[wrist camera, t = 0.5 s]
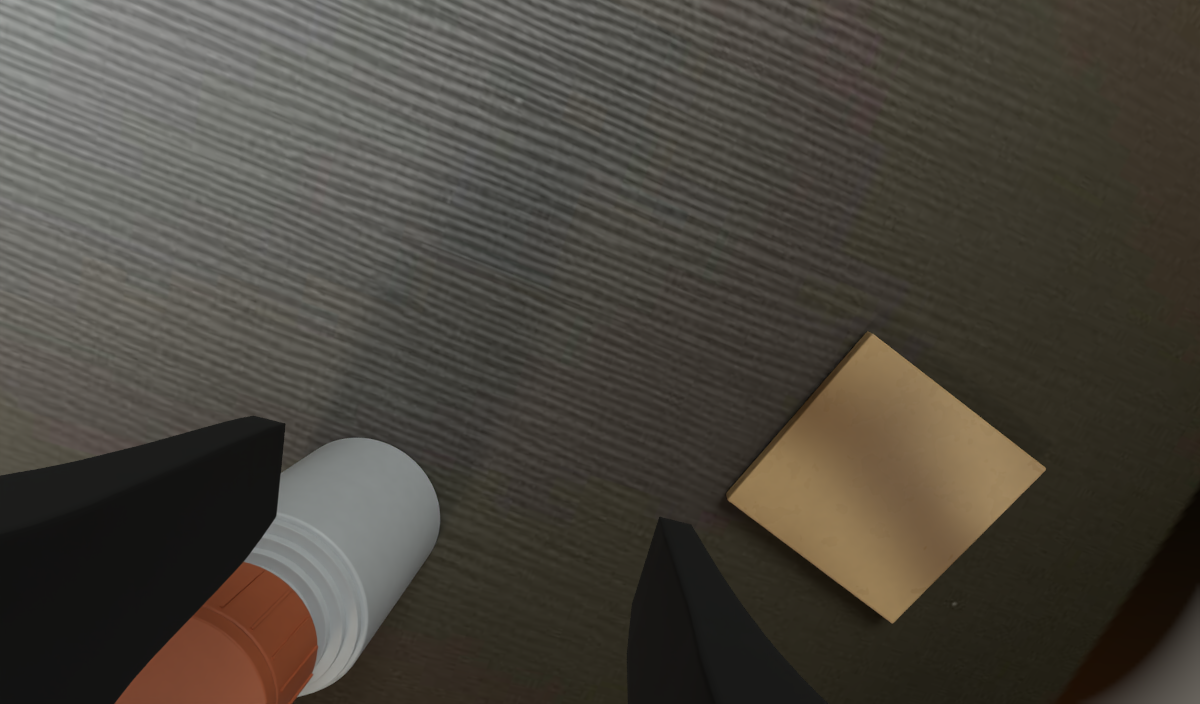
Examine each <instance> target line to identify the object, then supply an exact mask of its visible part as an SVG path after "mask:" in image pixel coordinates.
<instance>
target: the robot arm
mask: <svg viewBox="0 0 1200 704" xmlns="http://www.w3.org/2000/svg"><path fill="white" fill-rule="evenodd" d="M284 433H285V423H281V422H277V421H273V420H268V419H264V418H260V417H256V416H250V417H244V418H239V419H235V420H231V421H227V422H223V423H219V424H216V425H212V426H208V427H205V428H201V429H198V430H194V431H191V432H187V433H183V434H180V435H176V436H173V437H169V438H165V439H162V440H158V441H155V442H151V443H148V444H144V445H140V446H136V447H132V448H128V449H124V450H120V451H116V452H112V453H108V454H104V455H100V456H96V457H92V458H87V459H83V460H79V461H75V462H70V463H66V464H61V465H56V466H51V467H46V468H41V469H36V470H30V471H24V472H18V473H13V474H7V475H1V476H0V704H115V702H116V701H117V700H118V699H119V697H120V696H121V695H122V693H123V692H124V691H125V690H126V688H127V687H128V686H129V685H130V683H131V682H132V681H133V680H134V678H135V677H136V676H137V675H138V674H139V673H140V672H141V671H142V669H143V668H144V667H145V666H146V665H147V664H148V663H149V661H150V660H151V659H152V658H153V657H154V656H155V655H156V654H157V653H158V652H159V651H160V650H161V649H162V647H163V646H164V645H165V644H166V643H167V642H168V641H169V640H170V639H171V638H172V637H173V636H174V635H175V634H176V633H177V632H178V631H179V630H180V629H181V628H182V627H183V626H184V624H185V623H186V622H187V621H188V620H189V619H190V618H191V617H192V616H193V615H194V614H195V613H196V612H197V611H198V610H199V609H200V608H201V607H202V606H203V605H204V604H205V603H206V601H207V600H208V599H209V598H210V597H211V596H212V595H213V594H214V593H215V592H216V591H217V590H218V589H219V588H220V587H221V586H222V585H223V584H224V582H225V581H226V580H227V579H228V578H229V577H230V576H231V575H232V574H233V573H234V572H235V571H236V570H237V569H238V567H239V566H240V565H241V564H242V563H243V562H244V561H245V560H246V558H247V557H248V556H249V554H250V553H251V552H252V550H253V549H254V548H255V546H256V545H257V544H258V542H259V541H260V540H261V538H262V537H263V535H264V534H265V532H266V531H267V530H268V528H269V527H270V525H271V524H272V522H273V521H274V519H275V518H276V517H277V506H278V496H279V485H280V475H281V465H282V454H283V444H284ZM627 680H628V704H828V703H827V702H826V701H825V700H824V699H823V698H822V697H821V696H820V695H819V694H818V693H817V692H816V691H815V690H814V689H813V688H812V687H811V686H810V685H809V684H808V683H807V682H806V681H805V680H804V679H803V678H802V677H801V676H800V675H799V674H798V673H797V671H796V670H795V669H794V668H793V667H792V666H791V665H790V664H789V663H788V661H787V660H786V659H785V658H784V657H783V656H782V655H781V654H780V653H779V652H778V650H777V649H776V648H775V647H774V646H773V644H772V643H771V642H770V641H769V640H768V638H767V637H766V636H765V635H764V633H763V632H762V631H761V629H760V628H759V627H758V625H757V624H756V623H755V621H754V620H753V619H752V618H751V616H750V615H749V614H748V612H747V611H746V610H745V608H744V607H743V605H742V604H741V602H740V601H739V600H738V598H737V597H736V595H735V594H734V592H733V591H732V589H731V588H730V586H729V585H728V583H727V582H726V580H725V579H724V577H723V576H722V574H721V573H720V571H719V570H718V568H717V566H716V565H715V563H714V561H713V560H712V558H711V557H710V555H709V553H708V552H707V550H706V548H705V547H704V545H703V543H702V542H701V540H700V538H699V537H698V535H697V533H696V532H695V530H694V529H693V527H692V525H690V524H686V523H682V522H678V521H674V520H670V519H666V518H662V517H659V520H658V523H657V526H656V529H655V532H654V536H653V539H652V542H651V545H650V548H649V552H648V555H647V558H646V561H645V564H644V568H643V571H642V574H641V577H640V580H639V584H638V587H637V590H636V593H635V596H634V600H633V603H632V609H631V619H630V628H629V638H628V649H627Z"/></svg>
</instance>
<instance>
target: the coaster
mask: <svg viewBox="0 0 1200 704" xmlns="http://www.w3.org/2000/svg"><path fill="white" fill-rule="evenodd" d="M1045 470H1046V468H1045V467H1044V466H1043V465H1041V464H1040V463H1039V462H1038V461H1036V460H1035V459H1034V458H1032V457H1031V456H1030V455H1029V454H1027V453H1026V452H1025V451H1023V450H1022V449H1021V448H1020V447H1018V446H1017V445H1016V444H1014V443H1013V442H1012V441H1011V440H1009V439H1008V438H1007V437H1005V436H1004V435H1003V434H1002V433H1000V432H999V431H998V430H996V429H995V428H994V427H992V426H991V425H990V424H989V423H987V422H986V421H985V420H983V419H982V418H981V417H980V416H978V415H977V414H976V413H974V412H973V411H972V410H971V409H969V408H968V407H967V406H965V405H964V404H963V403H962V402H960V401H959V400H958V399H956V398H955V397H954V396H953V395H951V394H950V393H949V392H947V391H946V390H945V389H944V388H942V387H941V386H940V385H938V384H937V383H936V382H934V381H933V380H932V379H931V378H929V377H928V376H927V375H925V374H924V373H923V372H922V371H920V370H919V369H918V368H916V367H915V366H914V365H913V364H911V363H910V362H909V361H907V360H906V359H905V358H904V357H902V356H901V355H900V354H898V353H897V352H896V351H895V350H893V349H892V348H891V347H889V346H888V345H887V344H886V343H884V342H883V341H882V340H880V339H879V338H878V337H877V336H875V335H874V334H872V333H870V332H866V333H865V334H864V336H863V337H862V338H861V339H860V340H859V341H858V343H857V344H856V345H855V346H854V347H853V348H852V349H851V351H850V352H849V353H848V354H847V355H846V356H845V357H844V359H843V360H842V361H841V362H840V363H839V364H838V365H837V367H836V368H835V369H834V370H833V371H832V372H831V374H830V375H829V376H828V377H827V378H826V379H825V380H824V382H823V383H822V384H821V385H820V386H819V387H818V388H817V390H816V391H815V392H814V393H813V394H812V395H811V396H810V398H809V399H808V400H807V401H806V402H805V403H804V404H803V406H802V407H801V408H800V409H799V410H798V411H797V413H796V414H795V415H794V416H793V417H792V418H791V419H790V421H789V422H788V423H787V424H786V425H785V426H784V427H783V429H782V430H781V431H780V432H779V433H778V434H777V435H776V437H775V438H774V439H773V440H772V441H771V442H770V444H769V445H768V446H767V447H766V448H765V449H764V450H763V452H762V453H761V454H760V455H759V456H758V457H757V458H756V460H755V461H754V462H753V463H752V464H751V465H750V466H749V468H748V469H747V470H746V471H745V472H744V473H743V474H742V476H741V477H740V478H739V479H738V480H737V481H736V483H735V484H734V485H733V486H732V487H731V488H730V489H729V491H728V492H727V493H726V496H727V500H728V501H729V502H731V503H732V504H733V505H735V506H736V507H737V508H739V509H740V510H741V511H743V512H744V513H745V514H747V515H748V516H749V517H751V518H752V519H753V520H755V521H756V522H757V523H759V524H760V525H761V526H763V527H764V528H765V529H767V530H768V531H769V532H771V533H772V534H773V535H775V536H776V537H777V538H779V539H780V540H781V541H783V542H784V543H785V544H787V545H788V546H789V547H791V548H792V549H793V550H795V551H796V552H797V553H799V554H800V555H801V556H803V557H804V558H805V559H807V560H808V561H809V562H811V563H812V564H813V565H815V566H816V567H817V568H819V569H820V570H821V571H823V572H824V573H825V574H827V575H828V576H829V577H831V578H832V579H833V580H835V581H836V582H837V583H839V584H840V585H841V586H843V587H844V588H845V589H846V590H848V591H849V592H850V593H852V594H853V595H854V596H856V597H857V598H858V599H860V600H861V601H862V602H864V603H865V604H866V605H868V606H869V607H870V608H872V609H873V610H874V611H876V612H877V613H878V614H880V615H881V616H882V617H884V618H885V619H886V620H888V621H889V622H890V623H894V622H895V621H896V620H897V619H898V618H899V617H900V616H901V615H902V614H903V613H904V612H905V611H906V610H907V609H908V608H909V607H910V606H911V605H912V604H913V603H914V602H915V601H916V600H917V599H918V598H919V597H920V596H921V595H922V594H923V593H924V592H925V591H926V590H927V589H928V588H929V587H930V586H931V585H932V584H933V583H934V582H935V581H936V580H937V579H938V578H939V577H940V576H941V575H942V574H943V573H944V572H945V571H946V570H947V569H948V568H949V567H950V566H951V565H952V564H953V563H954V562H955V561H956V560H957V559H958V558H959V557H960V556H961V555H962V554H963V553H964V552H965V551H966V550H967V549H968V548H969V547H970V546H971V545H972V544H973V543H974V542H975V541H976V540H977V539H978V538H979V537H980V536H981V535H982V534H983V533H984V532H985V531H986V530H987V529H988V528H989V527H990V526H991V525H992V524H993V523H994V522H995V521H996V520H997V519H998V518H999V517H1000V516H1001V515H1002V514H1003V513H1004V512H1005V511H1006V510H1007V509H1008V508H1009V507H1010V505H1011V504H1012V503H1013V502H1014V501H1015V500H1016V499H1017V498H1018V497H1019V496H1020V495H1021V494H1022V493H1023V492H1024V491H1025V490H1026V489H1027V488H1028V487H1029V486H1030V485H1031V484H1032V483H1033V482H1034V481H1035V480H1036V479H1037V478H1038V477H1039V476H1040V475H1041V474H1042V473H1043V472H1044V471H1045Z"/></svg>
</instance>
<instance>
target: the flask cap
mask: <svg viewBox="0 0 1200 704" xmlns="http://www.w3.org/2000/svg"><path fill="white" fill-rule="evenodd" d="M317 649H318V646H317V635H316V629H315V626H314V623H313V619H312V617H311V615H310V613H309V611H308V609H307V607H306V606H305V604H304V602H303V601H302V599H301V598H300V597H299V596H298V594H297V593H296V592H295V591H294V590H293V589H292V588H291V587H290V586H289V585H288V584H287V583H286V582H284V581H283V580H282V579H281V578H279V577H278V576H276V575H275V574H273V573H272V572H270V571H268V570H266V569H264V568H262V567H259V566H257V565H254V564H251V563H247V562H243V563H242V564H241V565H240V566H239V567H238V569H237V570H236V571H235V572H234V573H233V574H232V575H231V576H230V577H229V578H228V579H227V580H226V581H225V582H224V584H223V585H222V586H221V587H220V588H219V589H218V590H217V591H216V592H215V593H214V594H213V595H212V596H211V597H210V598H209V599H208V600H207V601H206V603H205V604H204V605H203V606H202V607H201V608H200V609H199V610H198V611H197V612H196V613H195V614H194V615H193V616H192V617H191V618H190V619H189V620H188V621H187V622H186V623H185V624H184V626H183V627H182V628H181V629H180V630H179V631H178V632H177V633H176V634H175V635H174V636H173V637H172V638H171V639H170V640H169V641H168V642H167V643H166V644H165V645H164V646H163V647H162V649H161V650H160V651H159V652H158V653H157V654H156V655H155V656H154V657H153V658H152V659H151V660H150V661H149V663H148V664H147V665H146V666H145V667H144V668H143V669H142V671H141V672H140V673H139V674H138V675H137V676H136V677H135V678H134V680H133V681H132V682H131V683H130V685H129V686H128V687H127V688H126V690H125V691H124V692H123V693H122V695H121V696H120V697H119V699H118V700H117V701H116V702H115V704H292V703H293V702H294V700H295V699H296V698H297V696H298V695H299V694H300V692H301V691H302V690H303V688H304V687H305V686H306V684H307V683H308V682H309V680H310V679H311V678H312V677H313V674H312V672H313V670H314V666H315V663H316V658H317Z"/></svg>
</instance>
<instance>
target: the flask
mask: <svg viewBox="0 0 1200 704" xmlns="http://www.w3.org/2000/svg"><path fill="white" fill-rule="evenodd" d="M439 528H440V510H439V503H438V499H437V496H436V493H435V490H434V488H433V486H432V484H431V482H430V480H429V478H428V477H427V475H426V474H425V473H424V471H423V470H422V469H421V467H420V466H419V465H418V464H417V463H416V462H415V461H414V460H413V459H411V458H410V457H409V456H408V455H407V454H405V453H404V452H402V451H401V450H399V449H397V448H395V447H393V446H391V445H389V444H387V443H384V442H381V441H378V440H373V439H368V438H345V439H340V440H336V441H333V442H330V443H328V444H326V445H324V446H322V447H320V448H318V449H317V450H315V451H314V452H312V453H311V454H309V455H308V456H306V457H305V458H303V459H302V460H300V461H299V462H297V463H296V464H294V465H293V466H291V467H290V468H288V469H287V470H285V471H284V472H282V473H281V475H280V485H279V496H278V506H277V517H276V518H275V519H274V521H273V522H272V524H271V525H270V527H269V528H268V530H267V531H266V532H265V534H264V535H263V537H262V538H261V540H260V541H259V542H258V544H257V545H256V546H255V548H254V549H253V550H252V552H251V553H250V554H249V556H248V557H247V558H246V560H245V561H244V562H247V563H251V564H254V565H257V566H259V567H262V568H264V569H266V570H268V571H270V572H272V573H273V574H275V575H276V576H278V577H279V578H281V579H282V580H283V581H284V582H286V583H287V584H288V585H289V586H290V587H291V588H292V589H293V590H294V591H295V592H296V593H297V594H298V596H299V597H300V598H301V599H302V601H303V602H304V604H305V606H306V607H307V609H308V611H309V613H310V615H311V617H312V619H313V623H314V626H315V629H316V635H317V646H318V649H317V658H316V663H315V666H314V670H313V672H312V674H313V677H312V678H311V679H310V680H309V682H308V683H307V684H306V686H305V687H304V688H303V690H302V691H301V692H300V694H299V695H298V696H297V697H299V696H303V695H307V694H310V693H314V692H316V691H319V690H321V689H323V688H326V687H328V686H329V685H331V684H333V683H334V682H336V681H337V680H338V679H340V678H341V677H342V676H343V675H345V674H346V673H347V671H348V670H349V669H350V668H351V667H352V666H353V665H354V663H355V662H356V660H357V659H358V657H359V656H360V655H361V653H362V652H363V650H364V649H365V647H366V646H367V644H368V643H369V642H370V640H371V639H372V637H373V636H374V634H375V633H376V631H377V630H378V629H379V627H380V626H381V624H382V623H383V621H384V620H385V618H386V617H387V615H388V614H389V613H390V611H391V610H392V608H393V607H394V605H395V604H396V602H397V601H398V600H399V598H400V597H401V595H402V594H403V592H404V591H405V589H406V588H407V587H408V585H409V584H410V582H411V581H412V579H413V578H414V576H415V575H416V574H417V572H418V571H419V569H420V568H421V566H422V565H423V563H424V562H425V560H426V559H427V558H428V556H429V555H430V553H431V551H432V550H433V548H434V545H435V543H436V541H437V537H438V534H439Z"/></svg>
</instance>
